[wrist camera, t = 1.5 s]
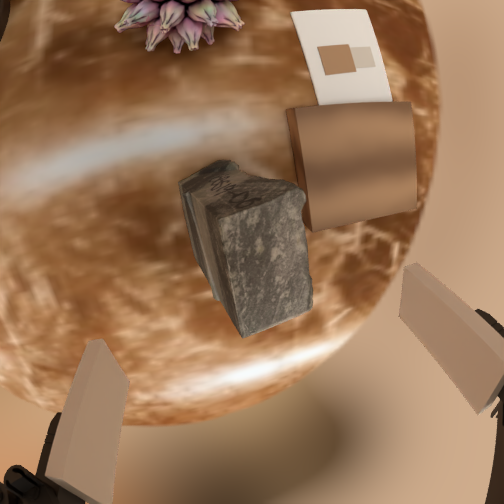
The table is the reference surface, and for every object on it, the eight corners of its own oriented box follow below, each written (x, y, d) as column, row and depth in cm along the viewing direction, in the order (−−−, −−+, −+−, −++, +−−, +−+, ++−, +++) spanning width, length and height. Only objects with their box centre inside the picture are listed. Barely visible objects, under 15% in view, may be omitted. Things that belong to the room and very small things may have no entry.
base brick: (285, 109, 26) (294, 108, 23) (394, 101, 27) (410, 101, 24) (303, 222, 31) (312, 232, 28) (402, 201, 32) (416, 208, 29)
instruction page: (289, 13, 21) (291, 11, 21) (364, 10, 22) (367, 9, 21) (321, 118, 27) (323, 118, 26) (392, 106, 27) (394, 106, 26)
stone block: (222, 157, 27) (169, 169, 26) (308, 173, 15) (214, 194, 13) (235, 242, 31) (188, 256, 29) (316, 311, 19) (243, 341, 17)
